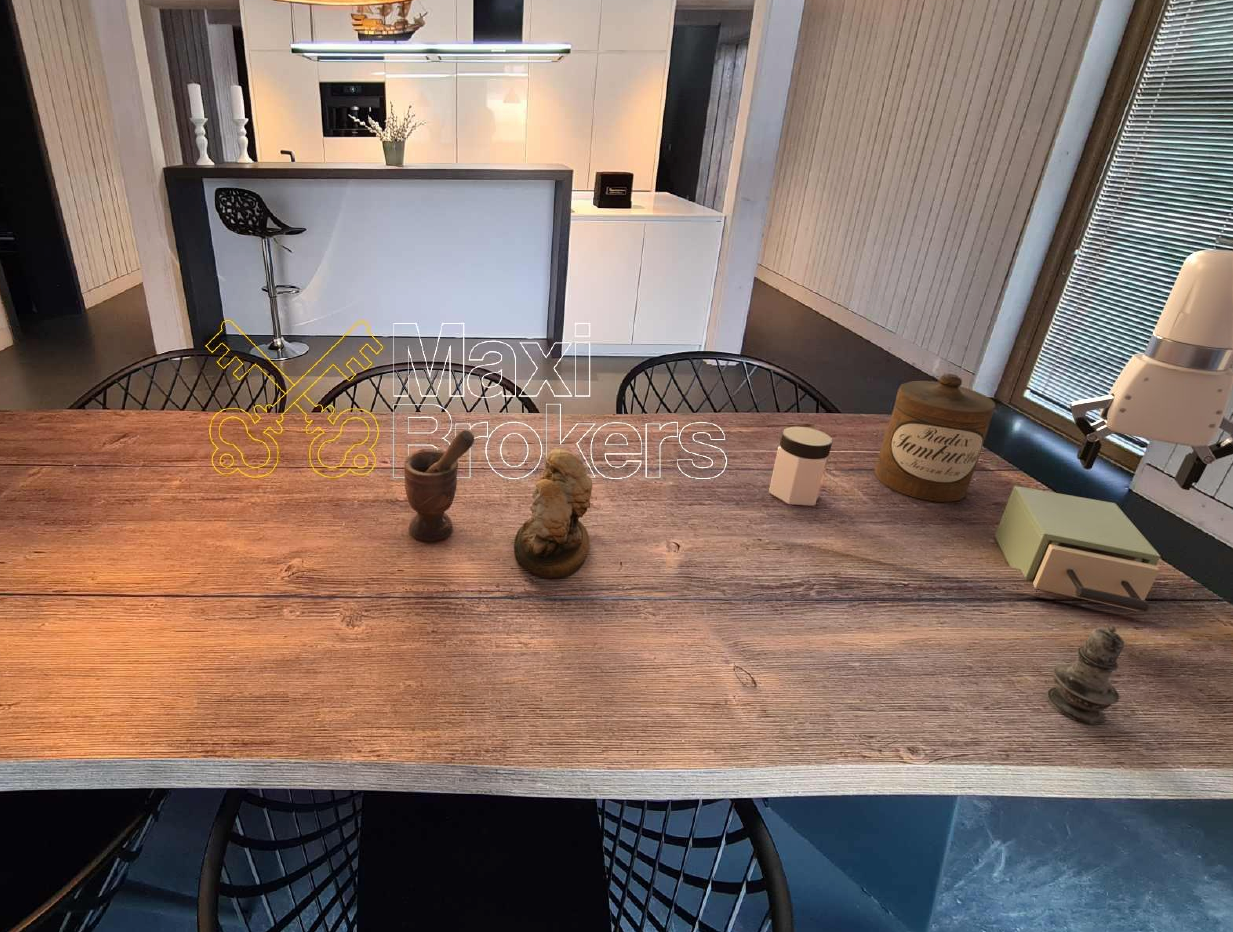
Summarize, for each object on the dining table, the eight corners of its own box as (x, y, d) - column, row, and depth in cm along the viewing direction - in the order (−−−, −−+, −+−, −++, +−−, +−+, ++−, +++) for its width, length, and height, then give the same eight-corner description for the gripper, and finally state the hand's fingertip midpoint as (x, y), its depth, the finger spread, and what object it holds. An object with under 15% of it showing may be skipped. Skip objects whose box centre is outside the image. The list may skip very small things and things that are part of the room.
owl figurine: (523, 511, 117) (528, 423, 110) (591, 520, 114) (600, 430, 107) (506, 574, 100) (510, 475, 94) (584, 586, 98) (594, 485, 91)
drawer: (1155, 644, 87) (1181, 595, 84) (1045, 618, 91) (1066, 571, 88) (1097, 561, 103) (1117, 518, 100) (1006, 543, 107) (1022, 501, 104)
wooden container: (880, 492, 123) (912, 382, 115) (869, 458, 136) (898, 356, 127) (975, 510, 118) (1016, 396, 110) (955, 472, 131) (991, 367, 122)
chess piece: (1100, 699, 80) (1141, 620, 75) (1113, 735, 75) (1157, 653, 70) (1038, 679, 82) (1073, 602, 78) (1047, 712, 78) (1085, 632, 73)
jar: (810, 484, 126) (824, 427, 121) (827, 507, 119) (843, 447, 114) (761, 481, 127) (773, 424, 122) (775, 504, 119) (789, 444, 115)
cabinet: (1131, 613, 94) (1161, 556, 90) (1021, 589, 98) (1044, 533, 94) (1091, 555, 106) (1115, 503, 102) (994, 536, 111) (1014, 485, 107)
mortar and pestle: (479, 521, 114) (481, 414, 106) (470, 550, 106) (472, 438, 98) (413, 513, 115) (410, 408, 108) (400, 542, 108) (396, 431, 100)
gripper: (1276, 358, 81) (1211, 481, 87) (1090, 333, 89) (1045, 447, 96) (1305, 377, 75) (1233, 507, 81) (1103, 349, 83) (1053, 469, 90)
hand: (1131, 474), depth 88 cm, fingers open, 9 cm apart
